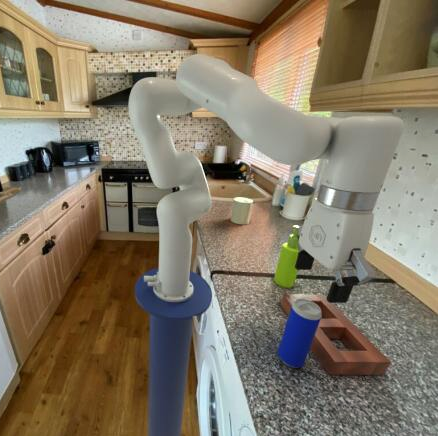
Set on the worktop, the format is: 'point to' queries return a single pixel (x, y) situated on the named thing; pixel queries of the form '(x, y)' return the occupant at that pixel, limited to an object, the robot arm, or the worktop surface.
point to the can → (241, 210)
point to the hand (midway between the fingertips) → (317, 283)
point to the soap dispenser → (288, 261)
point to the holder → (349, 334)
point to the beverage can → (299, 332)
